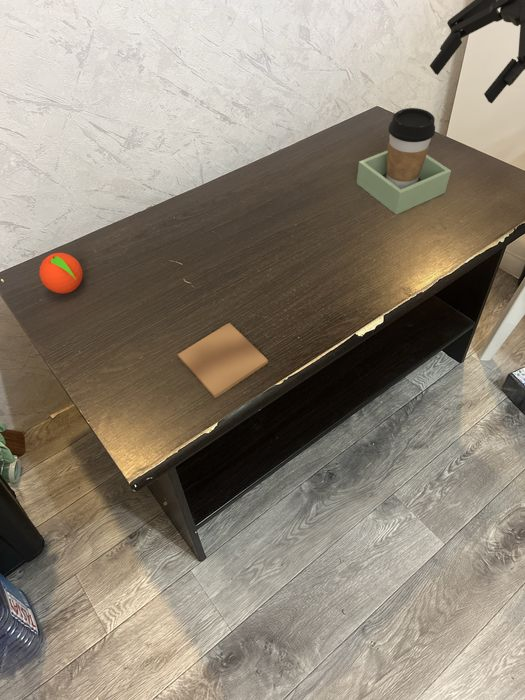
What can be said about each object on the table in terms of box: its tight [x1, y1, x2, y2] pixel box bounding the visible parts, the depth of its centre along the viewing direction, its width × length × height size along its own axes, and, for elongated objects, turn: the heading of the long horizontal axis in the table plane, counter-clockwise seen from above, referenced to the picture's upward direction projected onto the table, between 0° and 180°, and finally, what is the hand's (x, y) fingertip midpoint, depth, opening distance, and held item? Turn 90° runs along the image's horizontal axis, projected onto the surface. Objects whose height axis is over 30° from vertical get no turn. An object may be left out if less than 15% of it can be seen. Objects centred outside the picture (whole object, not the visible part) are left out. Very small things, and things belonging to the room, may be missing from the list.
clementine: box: [39, 252, 84, 294], centre depth 86 cm, size 8×7×7 cm
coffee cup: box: [385, 107, 436, 189], centre depth 96 cm, size 8×8×15 cm
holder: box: [356, 149, 452, 216], centre depth 100 cm, size 13×13×5 cm
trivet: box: [177, 322, 269, 399], centre depth 77 cm, size 10×10×1 cm
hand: (459, 84), depth 91 cm, fingers open, 13 cm apart
